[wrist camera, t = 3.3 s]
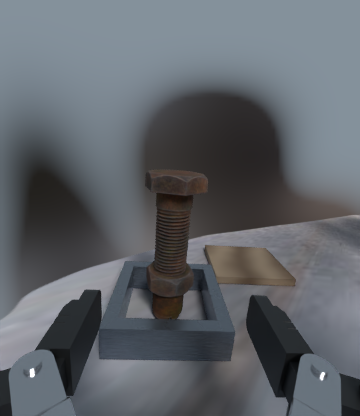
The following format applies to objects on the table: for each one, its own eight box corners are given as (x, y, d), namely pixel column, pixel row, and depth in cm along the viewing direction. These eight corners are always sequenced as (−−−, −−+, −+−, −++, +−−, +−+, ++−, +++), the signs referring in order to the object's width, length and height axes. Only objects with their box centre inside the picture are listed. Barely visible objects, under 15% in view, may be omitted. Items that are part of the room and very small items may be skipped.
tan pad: (264, 253, 40) (265, 248, 40) (294, 285, 31) (295, 279, 30) (204, 250, 40) (204, 245, 39) (215, 283, 30) (216, 276, 30)
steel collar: (208, 285, 29) (211, 264, 29) (230, 361, 19) (235, 331, 18) (125, 282, 29) (125, 261, 28) (99, 358, 18) (98, 328, 17)
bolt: (131, 324, 22) (134, 171, 18) (149, 294, 27) (154, 167, 23) (189, 338, 21) (205, 178, 17) (197, 303, 26) (211, 173, 22)
